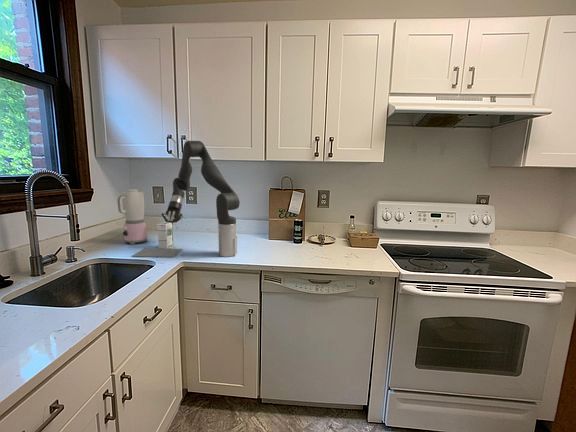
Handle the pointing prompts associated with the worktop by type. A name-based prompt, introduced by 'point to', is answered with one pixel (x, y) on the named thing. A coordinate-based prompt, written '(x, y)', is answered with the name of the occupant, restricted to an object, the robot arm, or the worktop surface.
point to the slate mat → (157, 252)
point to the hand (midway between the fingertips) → (168, 227)
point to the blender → (133, 216)
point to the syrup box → (165, 235)
